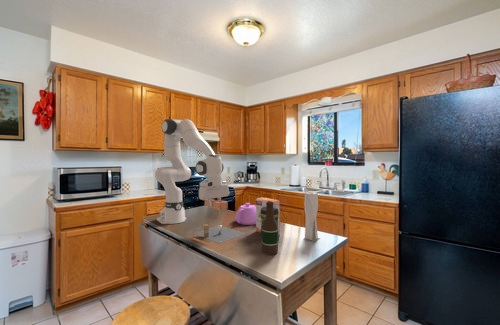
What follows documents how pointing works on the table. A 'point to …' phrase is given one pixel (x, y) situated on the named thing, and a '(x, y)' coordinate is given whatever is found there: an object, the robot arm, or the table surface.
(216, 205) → the square column with socket
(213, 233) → the board
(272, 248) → the beer bottle
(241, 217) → the teapot
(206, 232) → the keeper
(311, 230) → the skyscraper
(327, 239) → the table surface
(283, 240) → the table surface
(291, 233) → the table surface
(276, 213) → the coffee jar
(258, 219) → the cracker box
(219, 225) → the cylinder
